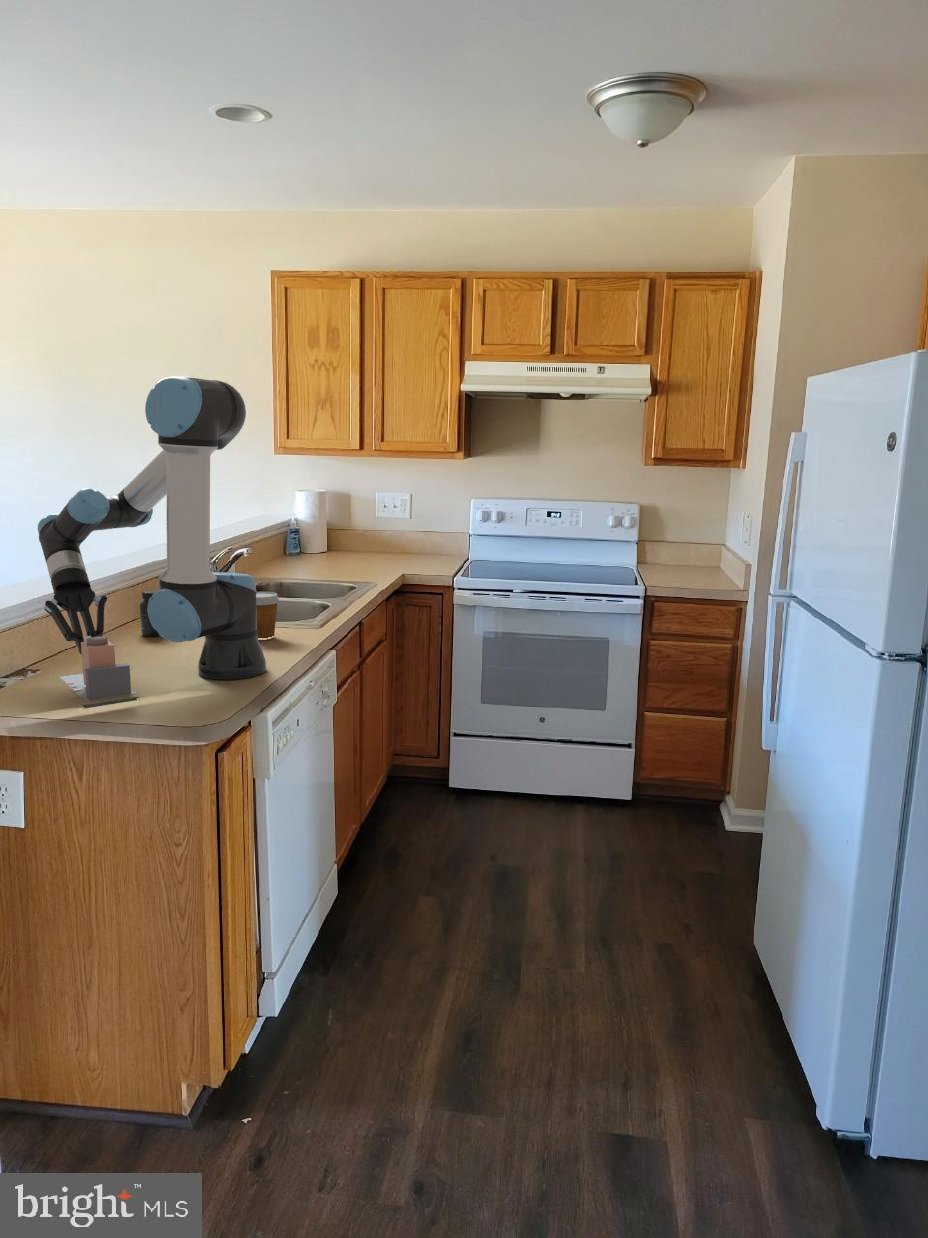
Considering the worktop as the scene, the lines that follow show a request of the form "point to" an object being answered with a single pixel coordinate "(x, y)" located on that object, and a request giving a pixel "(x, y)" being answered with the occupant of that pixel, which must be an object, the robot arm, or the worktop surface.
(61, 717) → the worktop surface
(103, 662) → the terracotta plug block
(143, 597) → the supplement bottle
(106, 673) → the slate track
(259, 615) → the disposable coffee cup
